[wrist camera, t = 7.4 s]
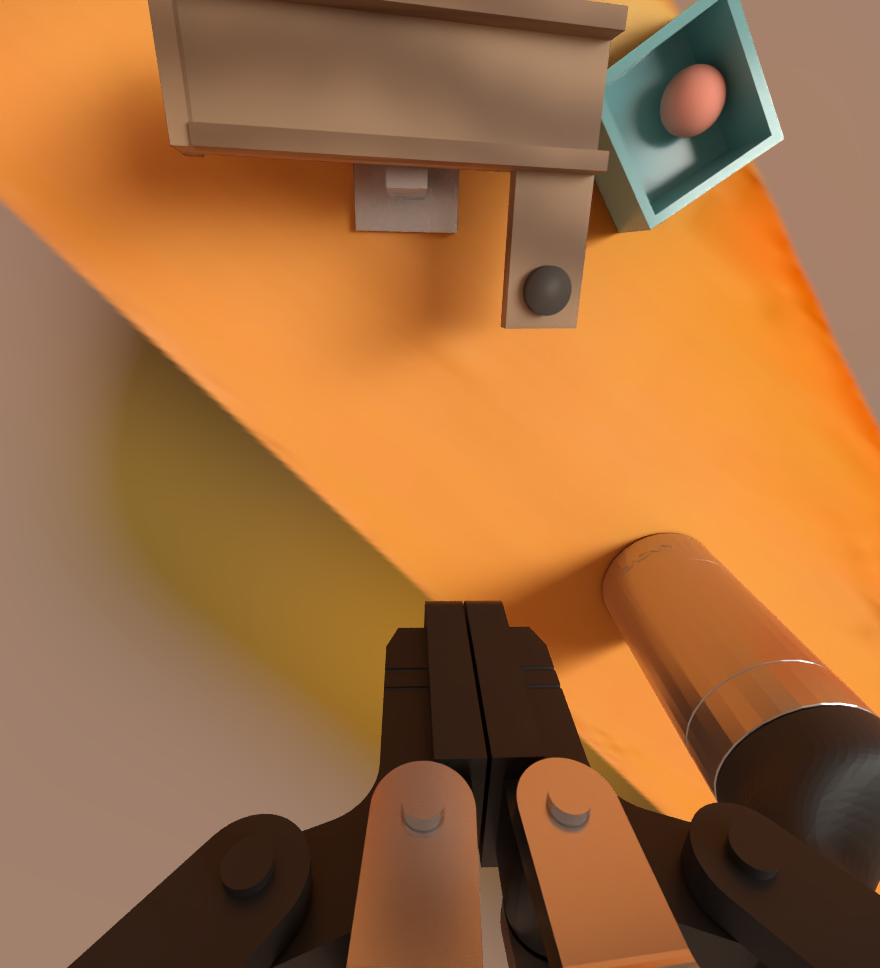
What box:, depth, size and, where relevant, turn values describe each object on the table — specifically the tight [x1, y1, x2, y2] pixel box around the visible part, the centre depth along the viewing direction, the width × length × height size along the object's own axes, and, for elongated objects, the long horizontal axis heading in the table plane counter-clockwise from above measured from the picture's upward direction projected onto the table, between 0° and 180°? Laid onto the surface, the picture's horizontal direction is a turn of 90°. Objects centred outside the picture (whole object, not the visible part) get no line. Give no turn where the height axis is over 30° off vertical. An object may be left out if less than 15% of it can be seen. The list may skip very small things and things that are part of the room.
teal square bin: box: [594, 0, 784, 233], centre depth 28 cm, size 8×8×5 cm
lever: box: [148, 0, 628, 329], centre depth 24 cm, size 13×19×3 cm
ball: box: [660, 64, 726, 138], centre depth 28 cm, size 3×3×3 cm
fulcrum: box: [353, 163, 459, 233], centre depth 26 cm, size 11×6×8 cm, turn 179°
